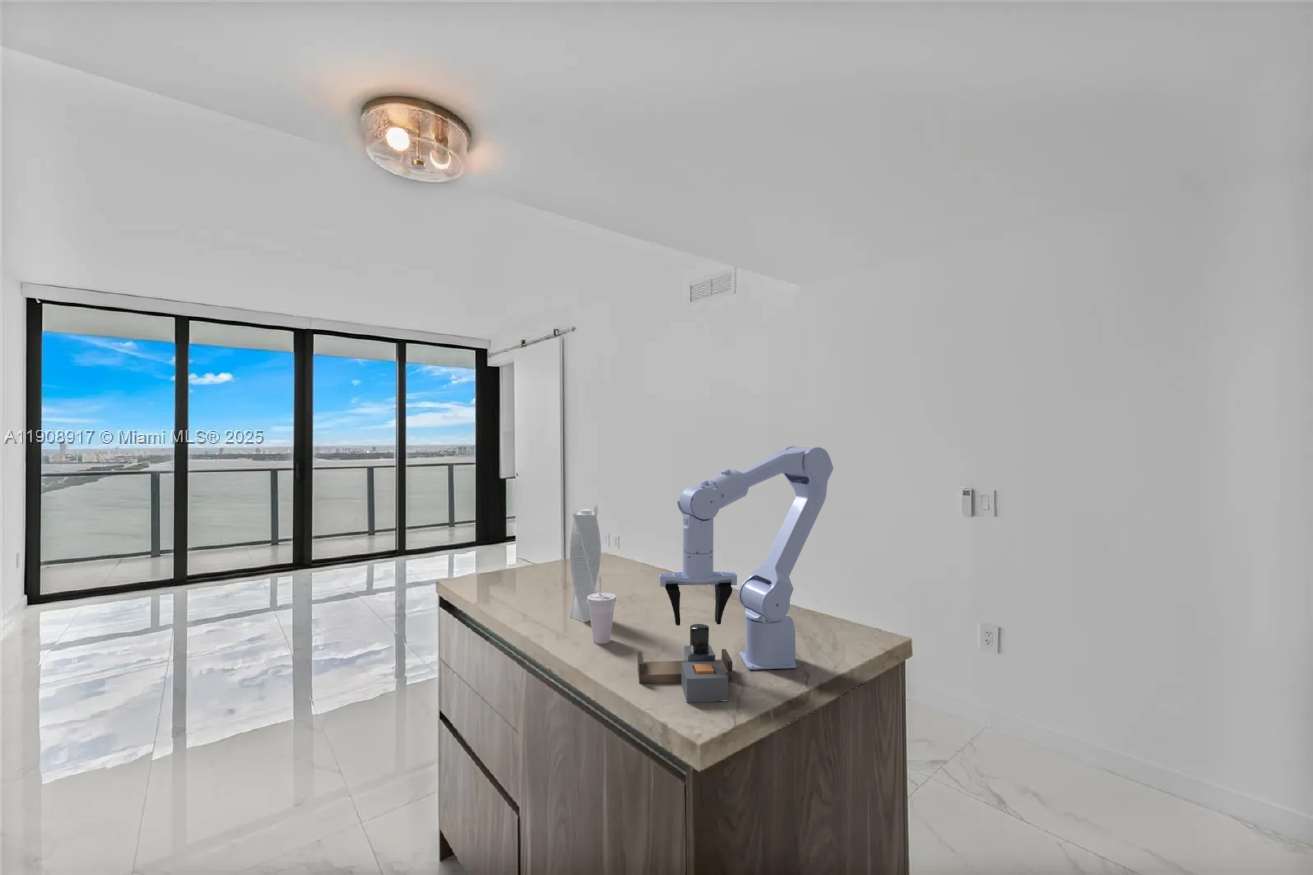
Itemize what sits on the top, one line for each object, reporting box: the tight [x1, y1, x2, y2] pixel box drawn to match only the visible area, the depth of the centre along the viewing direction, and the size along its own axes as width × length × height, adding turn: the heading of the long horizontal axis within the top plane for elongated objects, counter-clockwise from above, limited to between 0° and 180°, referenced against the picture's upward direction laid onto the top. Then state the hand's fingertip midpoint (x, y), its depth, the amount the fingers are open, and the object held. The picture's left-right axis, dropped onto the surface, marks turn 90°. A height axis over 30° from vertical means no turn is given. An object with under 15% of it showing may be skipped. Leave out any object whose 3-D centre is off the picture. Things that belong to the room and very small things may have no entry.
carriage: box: [683, 623, 716, 662], centre depth 107 cm, size 5×5×7 cm
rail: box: [637, 648, 733, 684], centre depth 106 cm, size 17×6×4 cm, turn 95°
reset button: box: [694, 664, 714, 674], centre depth 99 cm, size 3×3×4 cm
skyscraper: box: [569, 503, 602, 623], centre depth 140 cm, size 8×8×28 cm
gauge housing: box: [680, 661, 729, 704], centre depth 99 cm, size 7×7×4 cm
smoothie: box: [587, 575, 617, 645], centre depth 124 cm, size 6×6×14 cm
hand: (697, 623), depth 107 cm, fingers open, 7 cm apart
